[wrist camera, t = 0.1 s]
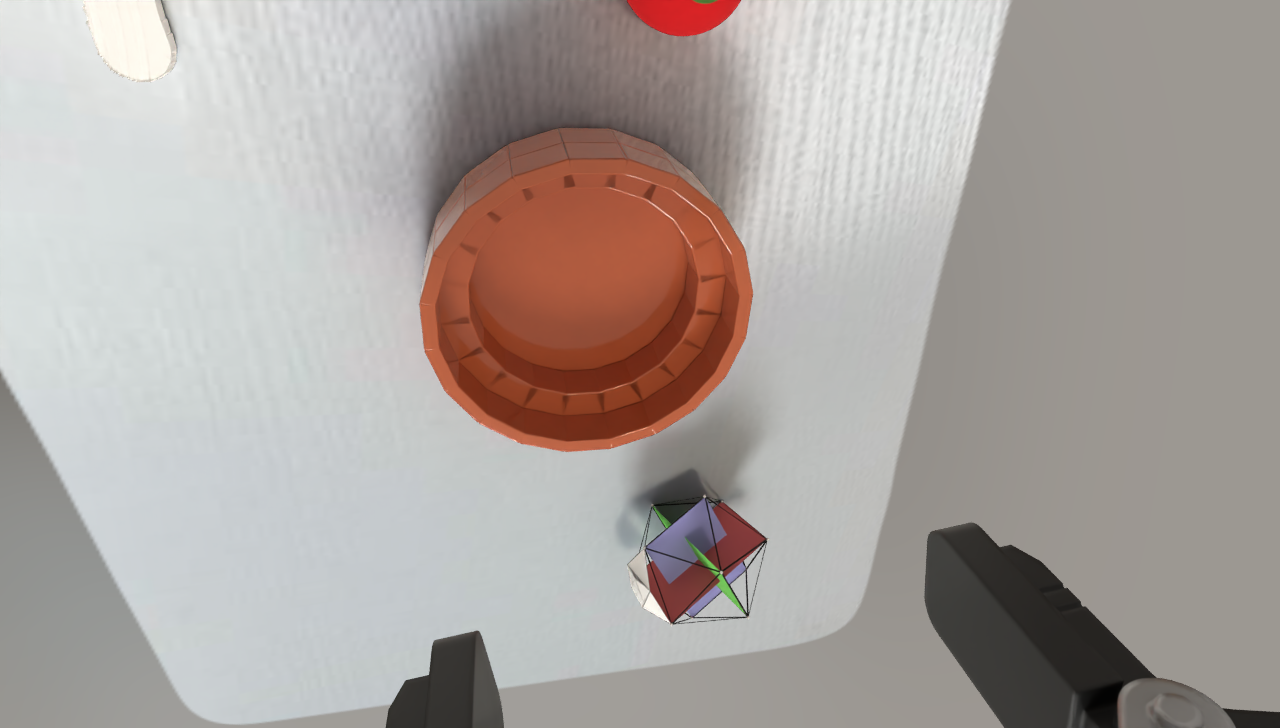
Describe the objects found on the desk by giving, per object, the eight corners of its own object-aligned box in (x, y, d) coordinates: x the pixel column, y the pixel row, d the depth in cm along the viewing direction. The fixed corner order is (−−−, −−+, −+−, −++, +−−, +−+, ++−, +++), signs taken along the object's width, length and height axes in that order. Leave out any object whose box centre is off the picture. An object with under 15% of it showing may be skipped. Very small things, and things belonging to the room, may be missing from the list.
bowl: (472, 76, 28) (472, 106, 25) (769, 180, 33) (807, 219, 29) (396, 361, 34) (387, 419, 31) (657, 416, 39) (676, 472, 35)
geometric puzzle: (761, 464, 39) (709, 599, 34) (798, 542, 43) (756, 673, 38) (646, 458, 43) (586, 577, 38) (690, 529, 47) (640, 646, 42)
